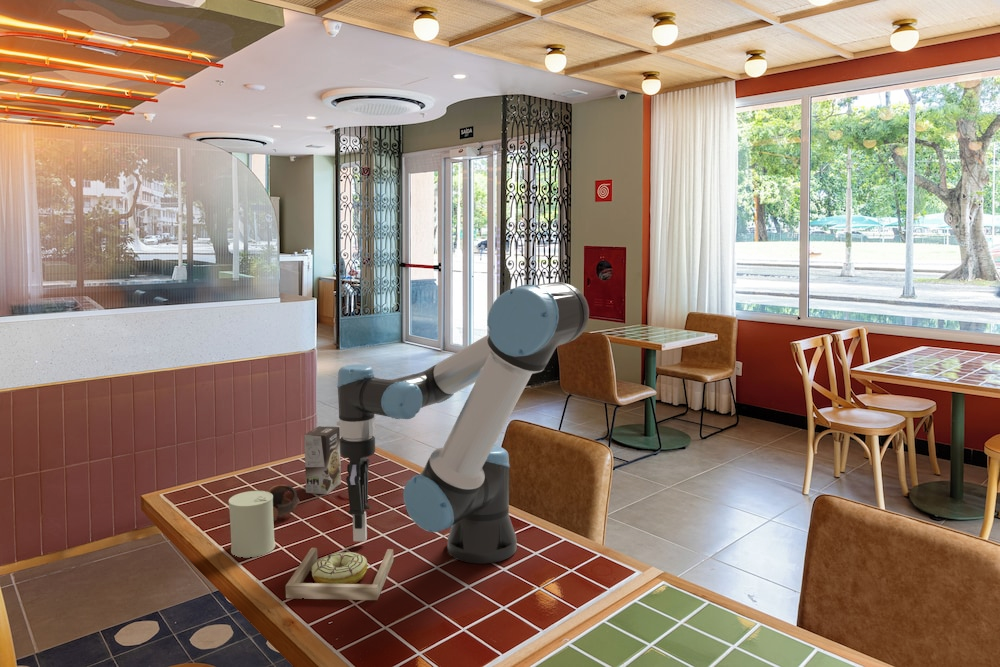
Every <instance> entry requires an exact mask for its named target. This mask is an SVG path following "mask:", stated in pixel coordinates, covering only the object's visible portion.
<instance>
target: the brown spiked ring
mask: <svg viewBox="0 0 1000 667" xmlns="http://www.w3.org/2000/svg"><path fill="white" fill-rule="evenodd" d="M254 491H263V490H261V489H256V490H254ZM266 492H269V493H271V494H272V495H273V522H276V521H277V520H278V518H282V517H285V516H286V515H288V514H291V513H293V512H294V510H296V509H297V507H298V505H299V504H301V501H300V499H299V497H298V492H297V490H296V489H295V488H294V487H293V486H292V485H287V484H283V483H282V484H281V483H280V484H275V485H273V486H270V488H268V490H266ZM288 492H291V493H292V495H293V498H292V500H291V499H290V498H287V497H285V493H288Z"/></svg>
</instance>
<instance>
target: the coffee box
mask: <svg viewBox="0 0 1000 667" xmlns="http://www.w3.org/2000/svg"><path fill="white" fill-rule="evenodd" d="M339 428H340V426H319V425H318V426H317V427H315V428H313V429H311V430H310V431H308V432H307V433H305V434H303V435H304V466H305V468H304V469H305V470H304V472H305V493H306V494H315V495H329V493H331V492H333V490H334V489H336V488H337V487H338V486H339V485H341V484H342V474H341V473H342V472H341V471H342V470H341V469H342V468H341V466H342V465H341V454H340V439H341V436H340V429H339Z"/></svg>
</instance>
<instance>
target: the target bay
mask: <svg viewBox="0 0 1000 667" xmlns="http://www.w3.org/2000/svg"><path fill="white" fill-rule="evenodd" d="M394 560H395V559H394V549H392V548H388V549H386V552H385V554H384V557H383V558H382V562H381V563H380V566H379V568H378V570H377V572H376V575H375V577H374V579H373V582H372V583H371V584H370V583H369V584H367V583H355V584H327V583H316V582H314V583H313V582H304V581H305V579H306V578H307V576H308V574H309V573H310V572H311V571H312V566H313V564H314V563H315V562H317V561H318V548H317V547H311V548H310V549H309V550H308V552H307V554H306V555H305V556H304V558H303V560H302V561H301V563H300V564H299V566H298V567H297V568H296V570H295V571H294V573H292V576H291V577H290V579H288V581H287V583H286V584H285V586H284V588H285V598H286V599H300V600H301V599H302V598H304V599H305V600H307V599H308V600H347V601H348V600H350V601H353V600H354V601H357V600H358V601H378V599H379V598H380V594H381V592H382V590H383V587H384V585H385V582H386V580H387V578H388V576H389V573H390V570H391V568H392V565H393V562H394ZM304 599H303V600H304Z"/></svg>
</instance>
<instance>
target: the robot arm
mask: <svg viewBox="0 0 1000 667" xmlns="http://www.w3.org/2000/svg"><path fill="white" fill-rule="evenodd" d="M589 317H590V307H589V304H588V301H587V299H586V297H585V296H584V294H583V293H582V292H581V291H580V289H578V288H576V286H573V285H571V284H570V283H565V282H562V281H561V282H560V281H557V282H556V281H554V282H548V283H541V284H521V285H519V286H516V287H513V288H511V289H508V290H506V291H504V292H502V293H501V294H500V295H499V296H498V297H497V298H496V299H495V300H494V302H493V303H492V305H491V307H490V309H489V312H488V314H487V320H486V321H487V325H486V326H488V328H489V330H488V334H487V335H485V336H483V337H481V338H480V339H478V340H476V341H474V342H472V343H471V344H469V345H467V346H465V347H464V348H462V349H460V350H458V351H457V352H455V353H453V354H452V355H450V356H449V357H446V358H444V359H443V360H441V361H439V362H437V363H436V364H435V365H432V366H431V367H429V368H427V369H425V370H423V371H421V372H416V373H413V374H409V375H405V376H400V377H397V378H393V379H385V378H378V377H375V374H374V368H373V367H372V366H370V365H368V364H349V365H345V366H341V367H340V368H339V369H338V371H337V386H336V388H337V397H338V398H337V399H338V418H339V419H338V421H337V422H336V426H337V427H340V428H339V429H340V456H342V457H343V458H347V459H348V460H349V463H347V468H346V471H347V473H348V475H347V476H346V477H345V481H346V486H347V492H348V502H349V504H348V505H349V511H348V514H349V515H352V537H353V540H352V541H353V542H366V541H367V539H368V538H367V537H368V531H367V530H368V529H367V528H368V527H367V522H368V521H367V511H368V510H370V508H371V506H370V505H368V503H369V468H370V467H369V466H370V458H369V457H371V456H373V455H374V454H375V453H376V438H375V434H376V416H375V415H378V416H382V417H388V418H391V419H395V420H411V419H413V418H414V417H416V415H417V414H418V413H419V412H420V410H421V409H422V408H425V407H429V406H431V405H436V404H439V403H443V402H445V401H447V400H448V399H450V398H452V397H453V396H454V394H456V393H457V392H460V391H462V390H463V389H465V388H467V387H469V386H472V385H473V384H474V385H473V386H472V388H471V390H470V392H469V394H468V396H467V398H466V401H465V402H464V404H463V407H462V408H461V410H460V412H459V415H458V416H457V419H456V421H455V422H454V425H453V427H452V429H451V431H450V433H449V434H448V437H447V439H446V441H445V443H444V445H443V447H439V448H436V449H434V450H433V451H432V452H431V454H430V455H429V458H428V459H427V462H426V464H425V466H424V467H423V470H422V471H421V472H420V473H418V474H415V475H413V476H412V477H411V478H410V479H409V480H407V482H406V483H405V484H404V489H403V503H404V505H405V508H406V511H407V513H408V516H409V517H410V518H411V519H410V520H412V521H413V522H414V523H415V524H416V526H418V527H419V528H421V529H422V530H424V531H426V532H429V533H439V532H442V531H444V530H447V529H449V532H448V537H447V552H448V554H449V555H450V556H452V558H455V559H456V560H459V561H461V562H465V563H469V564H479V565H482V564H493V563H499V562H503V561H505V560H506V559H509V558H511V557H512V556H513V555H515V554H516V551H517V544H518V543H517V542H518V541H517V535H516V531H515V528H514V526H513V524H512V520H511V518H510V514H509V513H510V512H509V509H510V506H509V505H510V496H509V495H510V467H511V464H510V460H509V456H510V455H509V452H508V451H507V450H506V449H505V448H503V447H501V446H498V445H496V443H497V441H498V439H499V437H500V435H501V434H502V431H503V430H504V428H505V426H506V424H507V422H508V421H509V418H510V416H511V415H512V413H513V411H514V409H515V408H516V404H517V403H518V401H519V400H520V398H521V395H522V394H523V392H524V390H525V388H526V387H527V384H528V382H529V381H530V379H531V376H532V375H533V374H538V373H541V372H543V371H544V370H545V368H546V367H547V365H548V364H549V361H550V359H551V358H552V356H553V354H554V353H555V350H556V348H557V347H559V346H562V345H566V344H568V343H571V342H572V341H575V340H576V339H577V338H579V337H580V336H581V335H582V334H583V333H584V331H585V329H586V328H587V325H588V323H589Z"/></svg>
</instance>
